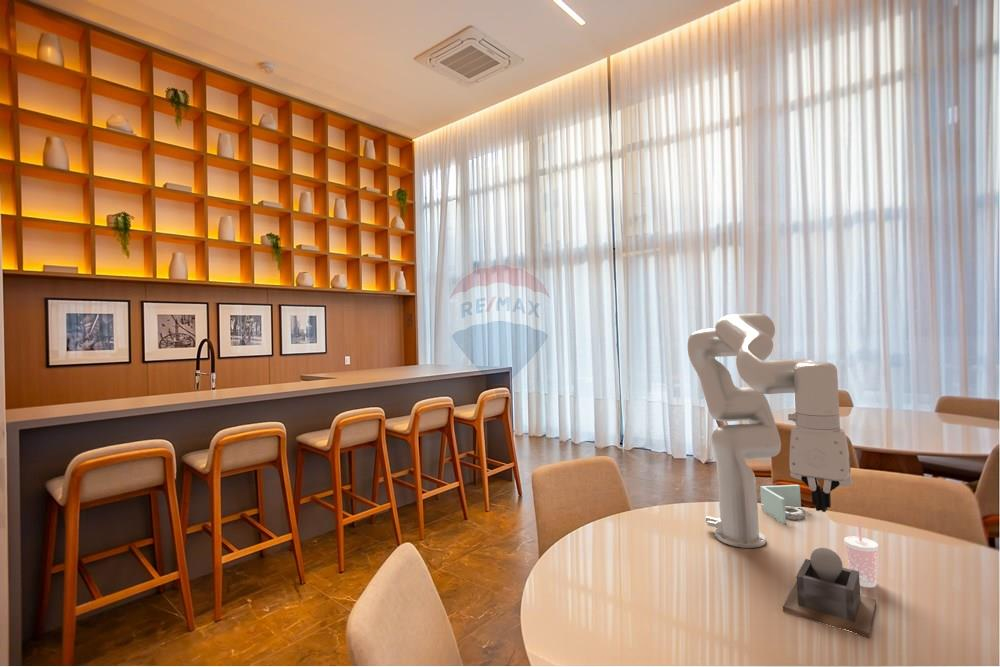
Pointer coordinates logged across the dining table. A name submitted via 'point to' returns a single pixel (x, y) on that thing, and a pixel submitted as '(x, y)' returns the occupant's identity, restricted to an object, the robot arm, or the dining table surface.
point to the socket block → (831, 600)
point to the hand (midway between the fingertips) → (821, 509)
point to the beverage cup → (862, 557)
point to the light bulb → (826, 564)
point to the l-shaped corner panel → (782, 502)
